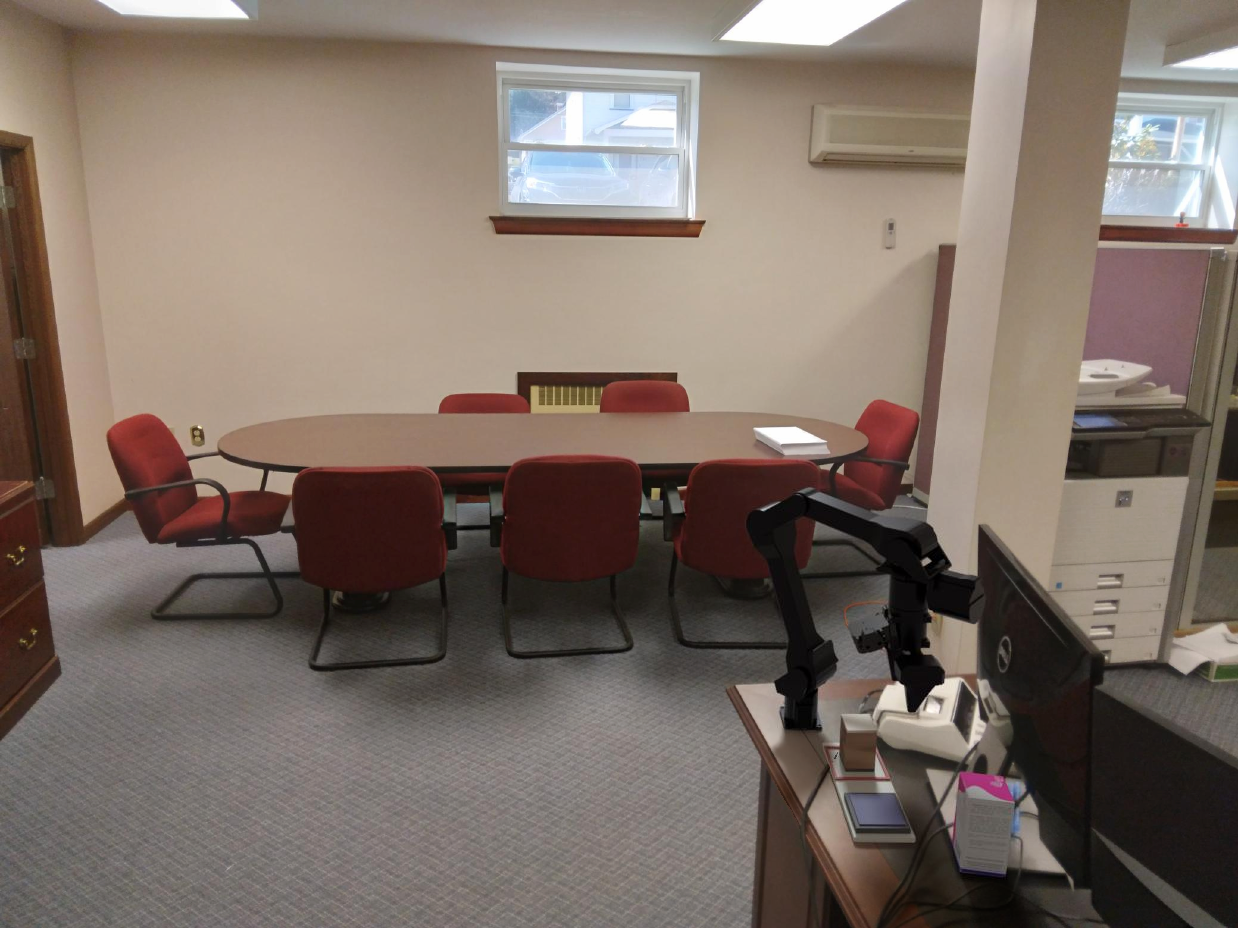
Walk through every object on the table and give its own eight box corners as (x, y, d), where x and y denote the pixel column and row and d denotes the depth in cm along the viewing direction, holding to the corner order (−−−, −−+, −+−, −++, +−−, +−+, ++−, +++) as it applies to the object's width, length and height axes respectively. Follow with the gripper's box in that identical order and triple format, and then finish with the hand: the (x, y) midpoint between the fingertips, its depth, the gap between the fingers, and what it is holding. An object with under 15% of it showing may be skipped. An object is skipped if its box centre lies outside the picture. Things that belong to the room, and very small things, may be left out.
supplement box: (1007, 878, 102) (1016, 803, 99) (959, 872, 103) (966, 798, 100) (996, 846, 108) (1003, 774, 105) (950, 841, 109) (956, 769, 106)
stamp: (839, 754, 127) (840, 713, 125) (867, 754, 127) (869, 713, 125) (845, 771, 123) (847, 730, 121) (874, 771, 123) (877, 730, 121)
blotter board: (822, 746, 131) (822, 736, 130) (873, 746, 130) (874, 736, 130) (853, 841, 109) (854, 830, 109) (915, 842, 109) (916, 830, 108)
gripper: (841, 580, 128) (839, 665, 132) (867, 632, 110) (863, 729, 114) (911, 579, 127) (906, 666, 131) (949, 631, 109) (942, 730, 113)
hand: (903, 695), depth 123 cm, fingers open, 9 cm apart
